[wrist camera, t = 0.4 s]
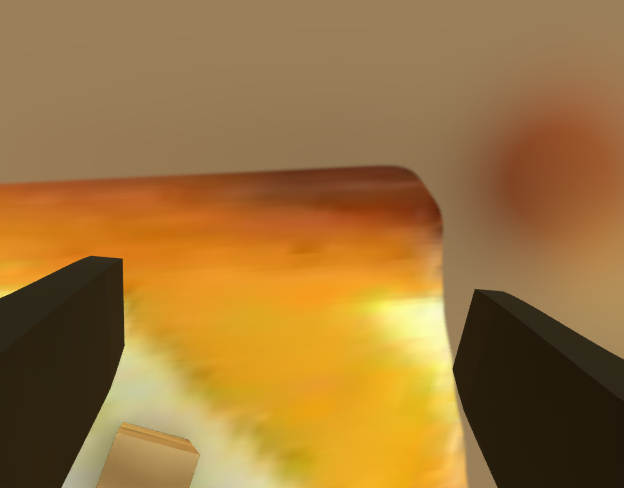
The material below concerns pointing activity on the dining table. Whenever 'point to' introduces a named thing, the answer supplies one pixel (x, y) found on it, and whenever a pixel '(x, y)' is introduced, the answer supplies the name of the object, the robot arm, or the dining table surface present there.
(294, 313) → the dining table surface
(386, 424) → the dining table surface
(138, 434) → the birch peg
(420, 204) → the dining table surface
